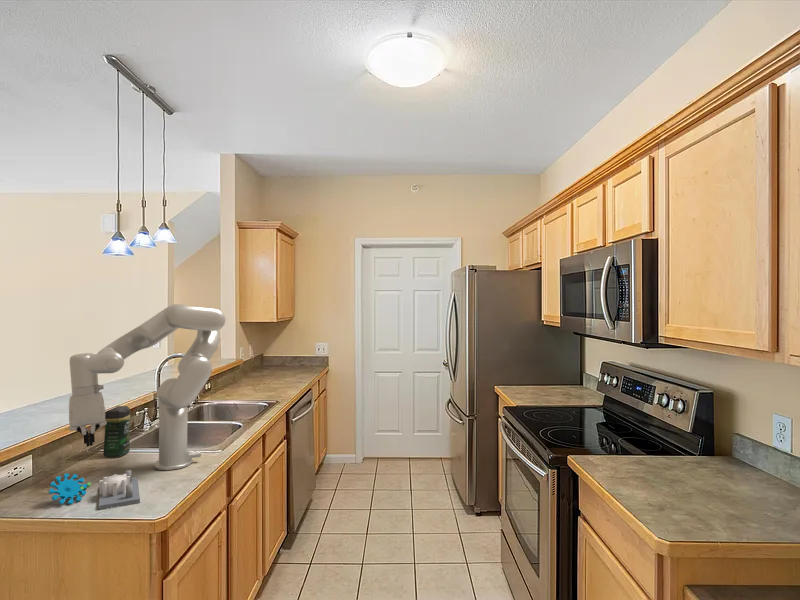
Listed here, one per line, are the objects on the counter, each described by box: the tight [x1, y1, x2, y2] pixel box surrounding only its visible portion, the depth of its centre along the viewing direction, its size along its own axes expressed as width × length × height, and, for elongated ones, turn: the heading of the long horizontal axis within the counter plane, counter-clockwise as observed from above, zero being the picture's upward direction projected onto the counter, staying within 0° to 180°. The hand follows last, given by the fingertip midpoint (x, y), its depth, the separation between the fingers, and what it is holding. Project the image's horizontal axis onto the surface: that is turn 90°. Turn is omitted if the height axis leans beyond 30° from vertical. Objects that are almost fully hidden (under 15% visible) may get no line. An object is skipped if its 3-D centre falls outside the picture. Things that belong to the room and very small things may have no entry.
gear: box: [48, 473, 92, 505], centre depth 150 cm, size 11×6×10 cm
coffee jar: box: [103, 405, 131, 459], centre depth 193 cm, size 10×8×19 cm
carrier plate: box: [98, 469, 141, 511], centre depth 154 cm, size 11×20×5 cm, turn 30°
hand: (89, 445), depth 165 cm, fingers closed
